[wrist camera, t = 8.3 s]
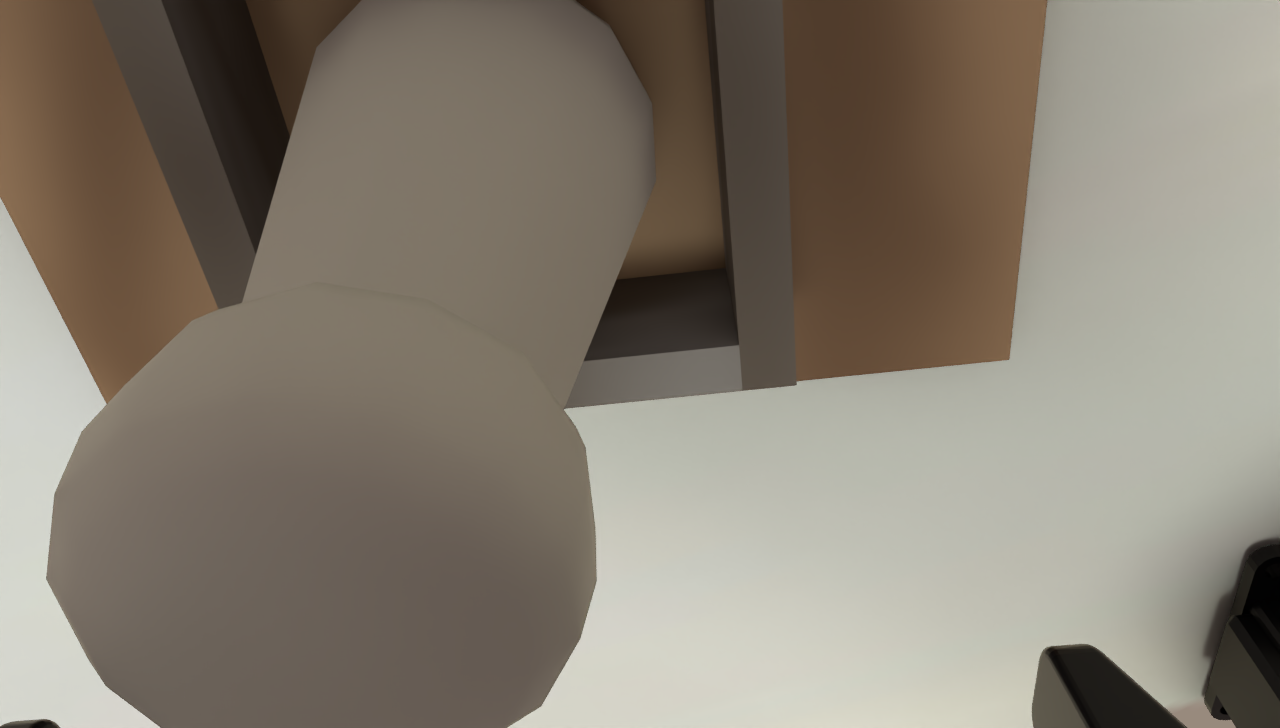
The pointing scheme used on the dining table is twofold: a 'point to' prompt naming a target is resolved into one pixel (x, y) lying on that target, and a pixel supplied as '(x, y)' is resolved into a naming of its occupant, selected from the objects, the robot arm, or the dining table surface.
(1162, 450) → the dining table surface
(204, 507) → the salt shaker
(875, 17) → the brown tray
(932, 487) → the dining table surface
